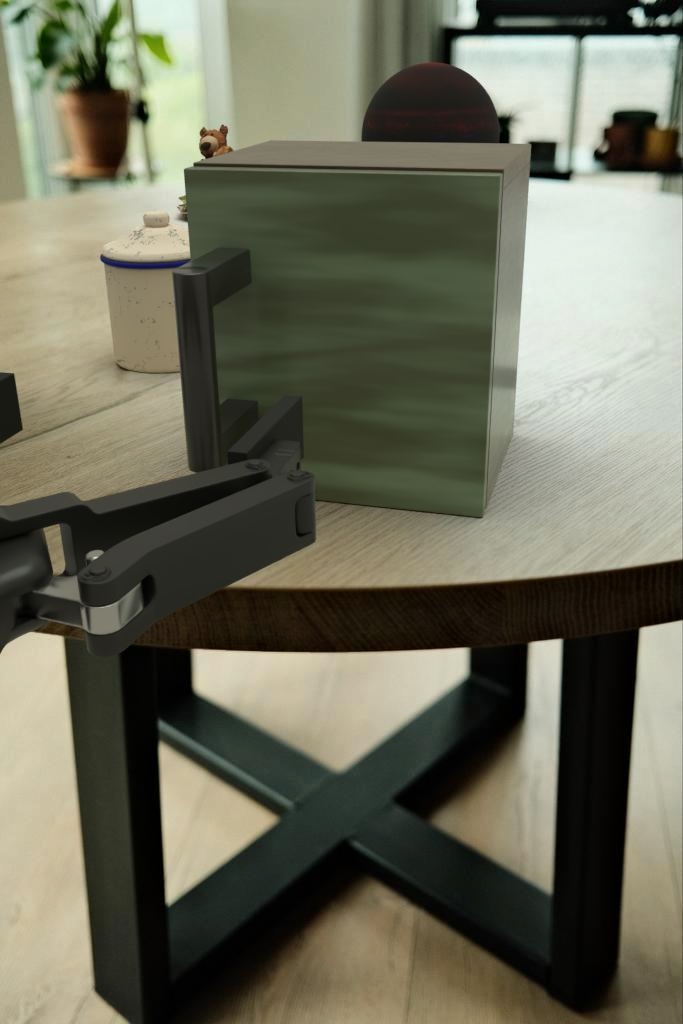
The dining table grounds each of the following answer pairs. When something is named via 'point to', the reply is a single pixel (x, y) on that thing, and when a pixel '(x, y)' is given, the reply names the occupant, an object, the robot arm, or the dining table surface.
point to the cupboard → (511, 243)
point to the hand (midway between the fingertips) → (148, 412)
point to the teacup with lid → (145, 293)
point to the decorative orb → (431, 108)
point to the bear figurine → (210, 150)
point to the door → (345, 325)
